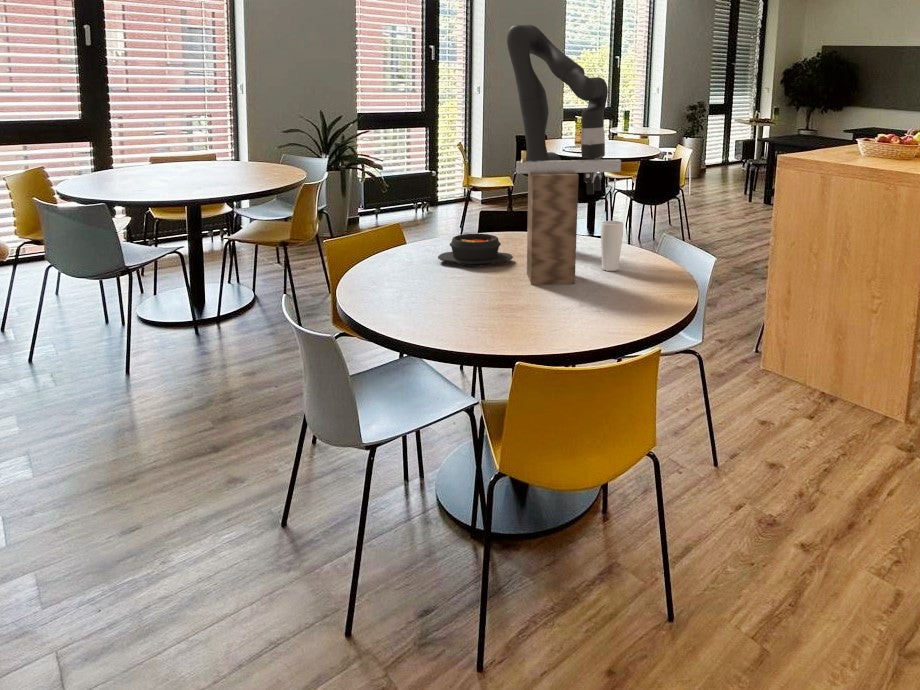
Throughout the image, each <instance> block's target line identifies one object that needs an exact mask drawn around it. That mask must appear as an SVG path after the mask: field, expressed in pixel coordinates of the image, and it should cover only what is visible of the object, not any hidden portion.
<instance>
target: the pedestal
mask: <svg viewBox="0 0 920 690" xmlns="http://www.w3.org/2000/svg"><path fill="white" fill-rule="evenodd" d="M578 202H579V174H578V173H527V229H526V230H527V231H526V232H527V233H526V234H527V235H526V236H527V237H526V239H527V241H526V245H527V246H526V276H527V277H528V281H529V283H530V285H531V286H534V285H536V286H537V285H538V286H539V285H542V286H543V285H544V286H545V285H575V284H576V264H577V263H576V262H577V261H576V260H577V258H576V257H577V233H578V232H577V231H578V230H577V229H578V204H579V203H578Z"/></svg>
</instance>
